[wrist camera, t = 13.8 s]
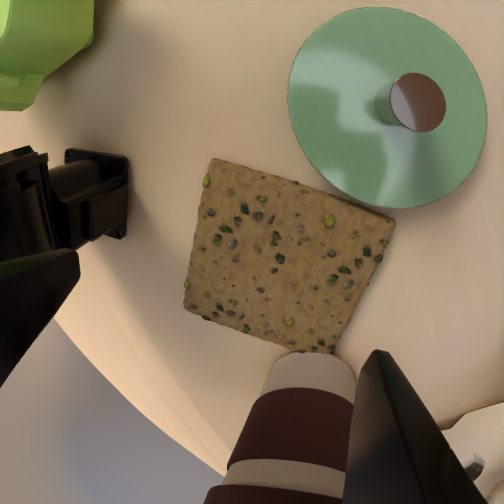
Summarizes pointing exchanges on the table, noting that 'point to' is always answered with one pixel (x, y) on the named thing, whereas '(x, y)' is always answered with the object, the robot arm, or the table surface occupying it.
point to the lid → (387, 107)
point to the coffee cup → (294, 436)
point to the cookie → (280, 258)
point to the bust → (497, 494)
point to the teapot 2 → (38, 44)
